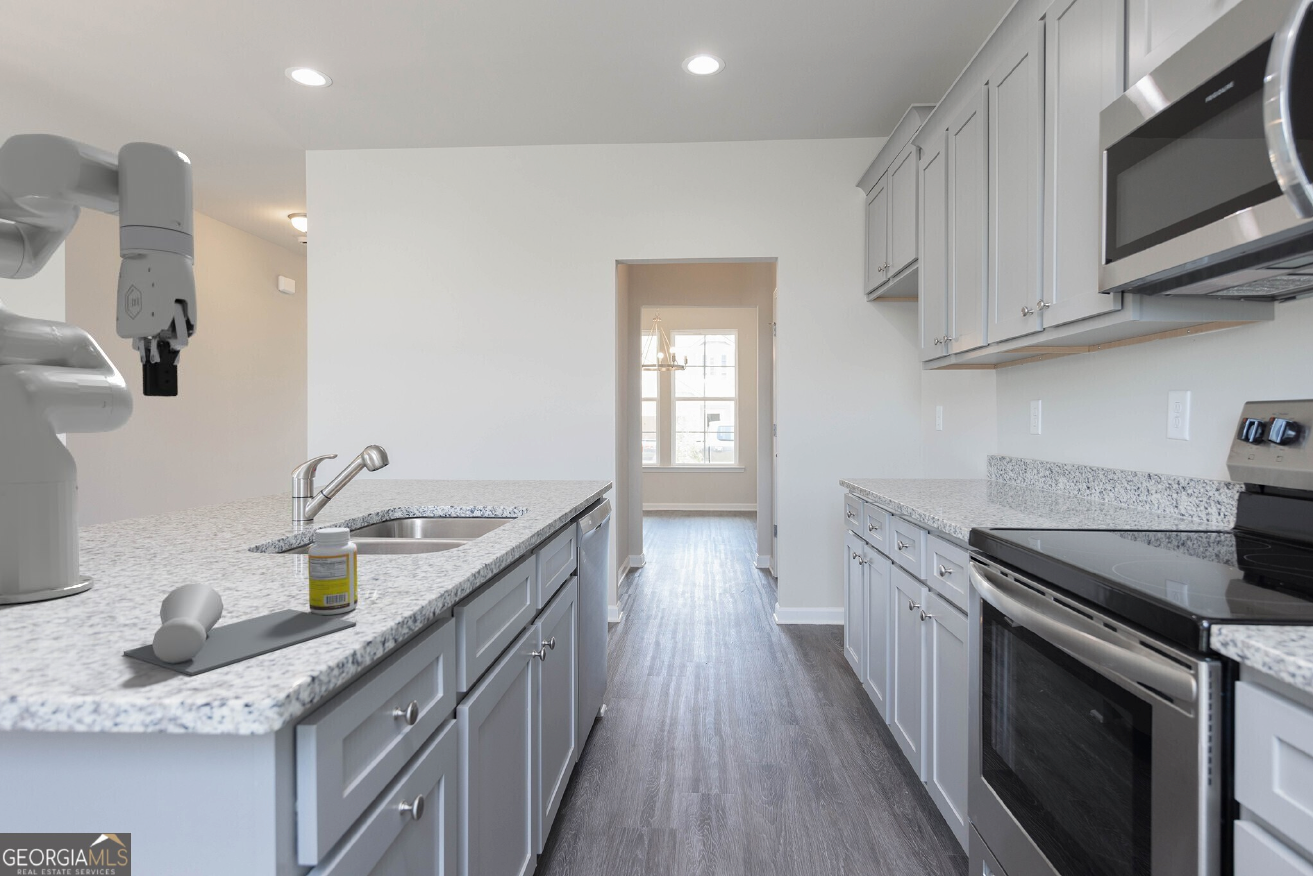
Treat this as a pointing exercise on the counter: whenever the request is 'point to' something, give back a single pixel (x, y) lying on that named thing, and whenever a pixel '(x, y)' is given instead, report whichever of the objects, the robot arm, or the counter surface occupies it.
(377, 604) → the counter surface
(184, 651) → the salt shaker
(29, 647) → the counter surface
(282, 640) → the mat
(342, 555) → the supplement bottle
